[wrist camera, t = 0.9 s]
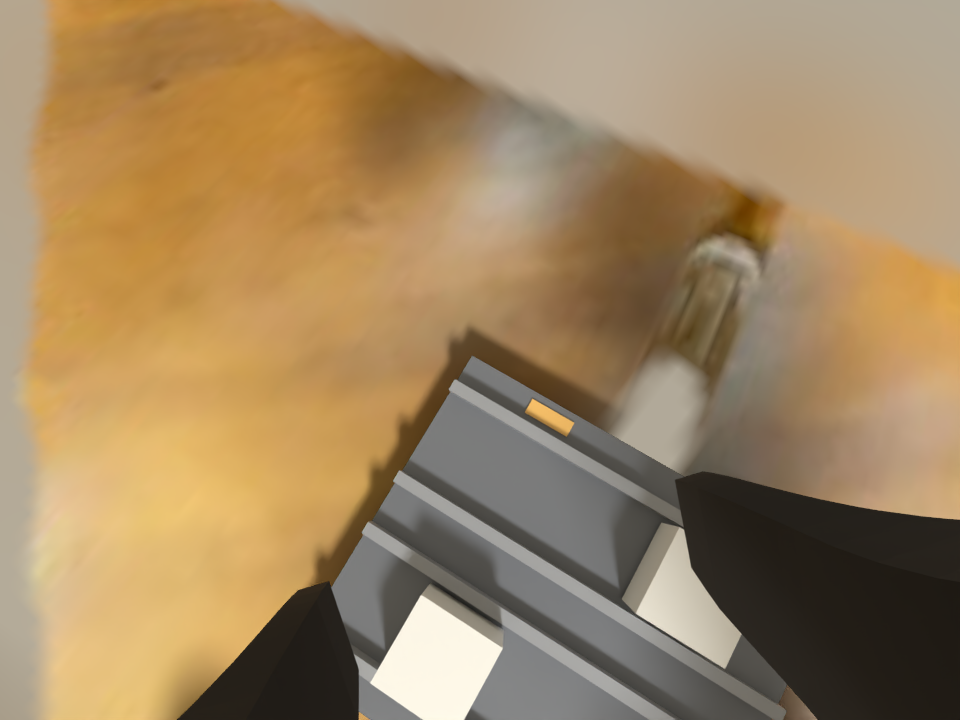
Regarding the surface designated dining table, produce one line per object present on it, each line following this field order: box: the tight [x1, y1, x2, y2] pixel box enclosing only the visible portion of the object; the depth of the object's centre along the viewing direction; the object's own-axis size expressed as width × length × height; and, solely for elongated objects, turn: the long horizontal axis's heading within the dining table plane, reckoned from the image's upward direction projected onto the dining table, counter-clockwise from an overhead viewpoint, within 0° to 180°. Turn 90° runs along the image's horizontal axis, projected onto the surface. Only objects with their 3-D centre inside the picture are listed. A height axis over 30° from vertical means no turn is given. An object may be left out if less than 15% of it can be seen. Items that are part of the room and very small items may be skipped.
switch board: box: [331, 356, 787, 720], centre depth 27 cm, size 20×17×3 cm
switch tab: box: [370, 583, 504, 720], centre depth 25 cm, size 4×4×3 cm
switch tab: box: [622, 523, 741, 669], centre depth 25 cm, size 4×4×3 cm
